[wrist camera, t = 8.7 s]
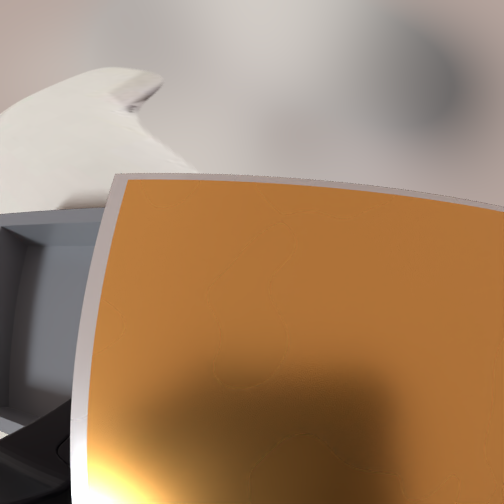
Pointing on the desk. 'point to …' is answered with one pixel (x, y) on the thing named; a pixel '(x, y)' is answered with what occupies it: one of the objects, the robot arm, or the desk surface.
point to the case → (41, 307)
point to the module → (289, 345)
